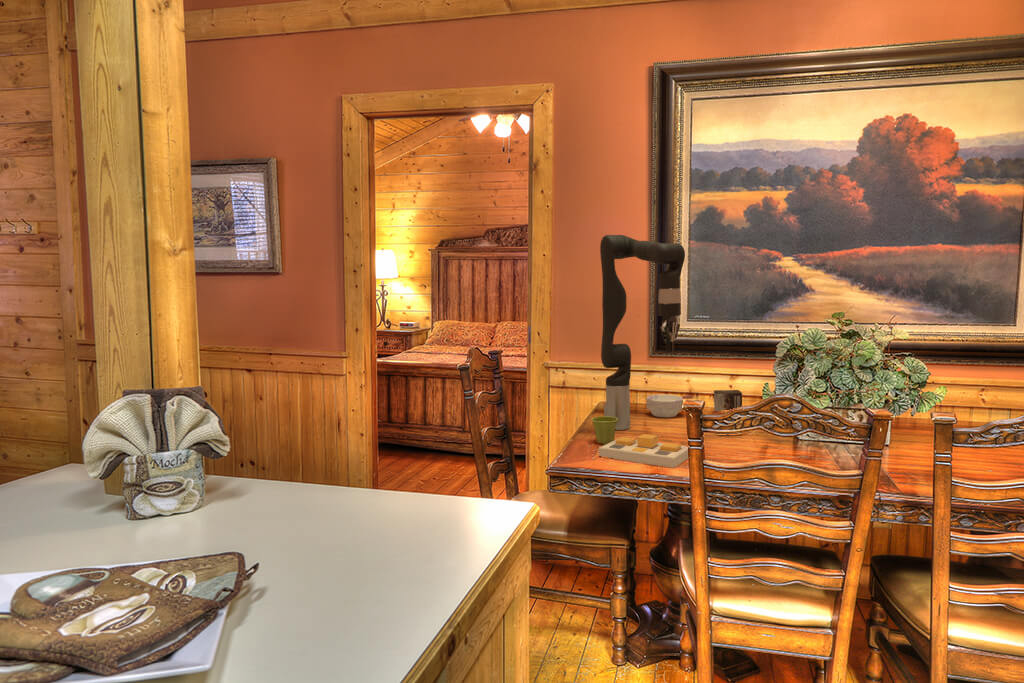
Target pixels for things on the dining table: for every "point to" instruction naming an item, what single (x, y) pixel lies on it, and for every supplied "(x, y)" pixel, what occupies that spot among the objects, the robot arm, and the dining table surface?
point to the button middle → (647, 440)
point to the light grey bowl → (664, 405)
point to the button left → (625, 441)
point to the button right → (670, 447)
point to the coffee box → (727, 401)
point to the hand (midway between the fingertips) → (669, 352)
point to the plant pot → (604, 428)
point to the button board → (644, 454)
